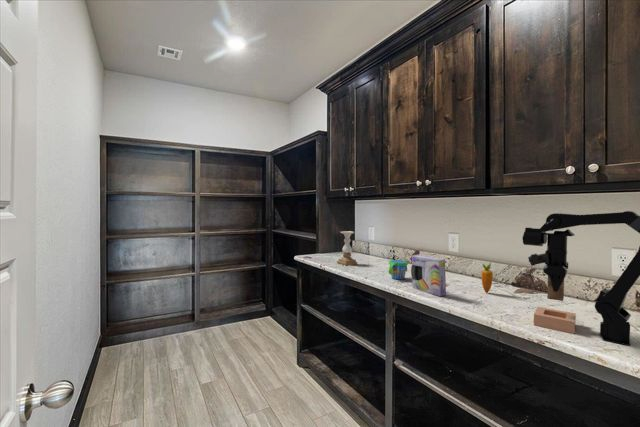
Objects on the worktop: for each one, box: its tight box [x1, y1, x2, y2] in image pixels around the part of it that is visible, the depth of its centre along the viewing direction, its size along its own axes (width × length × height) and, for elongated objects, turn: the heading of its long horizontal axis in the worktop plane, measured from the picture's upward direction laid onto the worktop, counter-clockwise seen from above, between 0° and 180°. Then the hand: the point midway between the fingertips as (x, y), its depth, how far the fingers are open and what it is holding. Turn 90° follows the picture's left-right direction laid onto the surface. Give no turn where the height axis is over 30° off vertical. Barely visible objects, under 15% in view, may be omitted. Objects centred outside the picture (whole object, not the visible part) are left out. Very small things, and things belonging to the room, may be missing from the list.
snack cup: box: [388, 259, 409, 280], centre depth 183 cm, size 16×10×10 cm
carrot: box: [481, 262, 494, 294], centre depth 154 cm, size 5×5×15 cm
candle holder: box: [336, 230, 358, 267], centre depth 227 cm, size 11×11×24 cm
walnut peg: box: [546, 275, 565, 302], centre depth 113 cm, size 4×4×10 cm
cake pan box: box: [410, 254, 447, 297], centre depth 156 cm, size 19×5×18 cm, turn 27°
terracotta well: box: [533, 306, 577, 334], centre depth 113 cm, size 12×12×4 cm
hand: (555, 290), depth 113 cm, fingers closed on walnut peg, 4 cm apart
